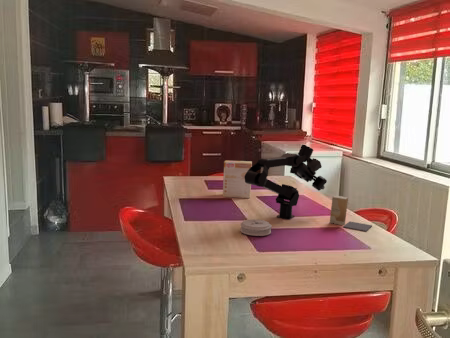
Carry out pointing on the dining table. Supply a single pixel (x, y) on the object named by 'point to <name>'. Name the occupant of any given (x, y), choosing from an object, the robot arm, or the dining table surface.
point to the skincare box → (338, 210)
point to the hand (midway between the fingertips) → (317, 184)
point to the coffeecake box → (236, 179)
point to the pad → (357, 226)
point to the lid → (255, 227)
